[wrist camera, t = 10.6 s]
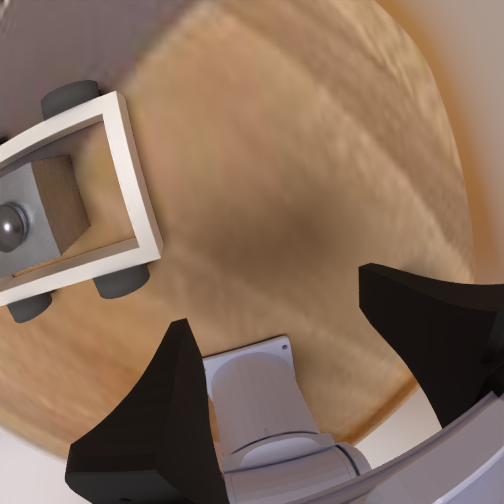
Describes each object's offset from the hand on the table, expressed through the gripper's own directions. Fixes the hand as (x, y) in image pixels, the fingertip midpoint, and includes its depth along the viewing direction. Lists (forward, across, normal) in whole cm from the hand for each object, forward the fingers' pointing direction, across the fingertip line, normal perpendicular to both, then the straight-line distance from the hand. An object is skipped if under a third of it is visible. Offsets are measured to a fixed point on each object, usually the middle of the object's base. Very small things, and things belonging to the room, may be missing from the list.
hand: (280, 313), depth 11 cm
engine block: (+10, +12, -6) cm, 16 cm away
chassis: (+9, +12, -6) cm, 16 cm away
